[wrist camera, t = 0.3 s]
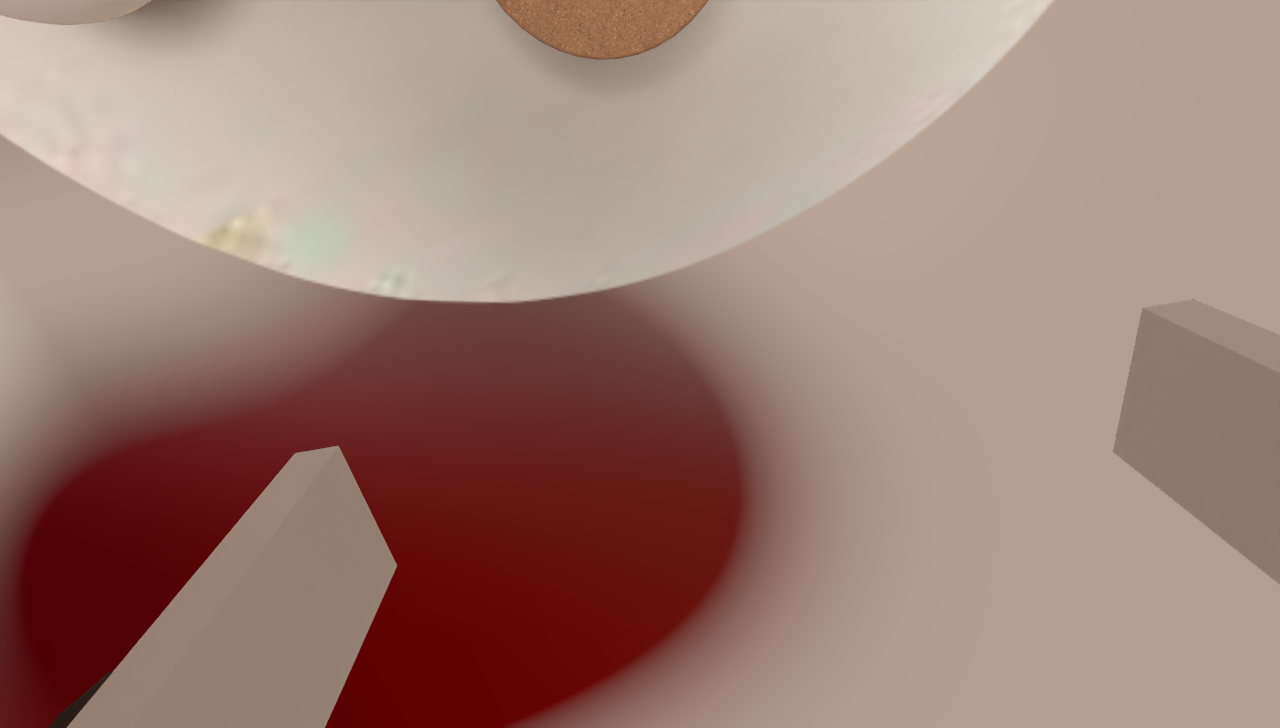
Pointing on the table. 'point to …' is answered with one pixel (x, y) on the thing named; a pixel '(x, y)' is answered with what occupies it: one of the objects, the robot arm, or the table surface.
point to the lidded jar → (602, 24)
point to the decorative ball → (68, 10)
